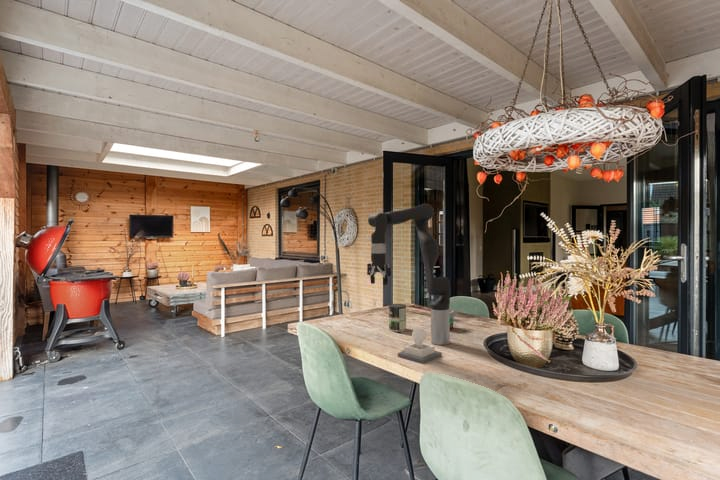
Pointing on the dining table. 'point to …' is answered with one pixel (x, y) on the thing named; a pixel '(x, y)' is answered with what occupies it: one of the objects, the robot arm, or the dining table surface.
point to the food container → (451, 318)
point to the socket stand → (419, 353)
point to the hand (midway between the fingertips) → (378, 284)
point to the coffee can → (397, 317)
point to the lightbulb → (418, 337)
